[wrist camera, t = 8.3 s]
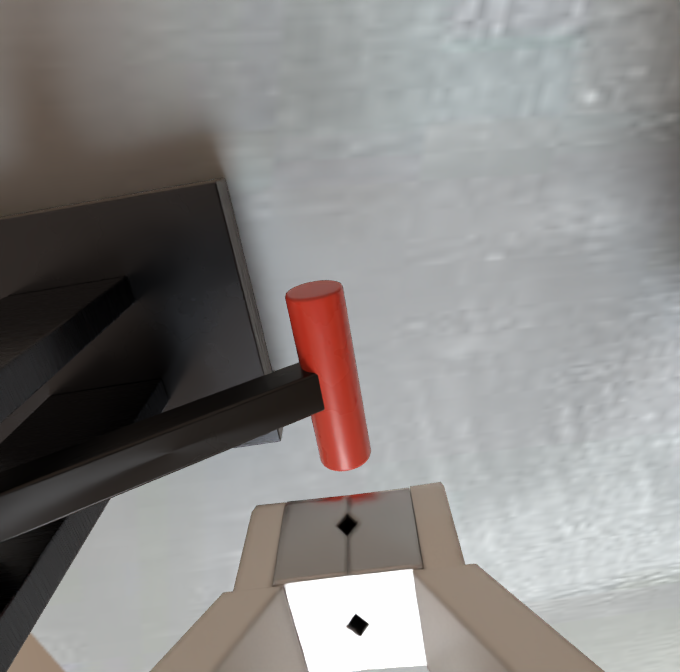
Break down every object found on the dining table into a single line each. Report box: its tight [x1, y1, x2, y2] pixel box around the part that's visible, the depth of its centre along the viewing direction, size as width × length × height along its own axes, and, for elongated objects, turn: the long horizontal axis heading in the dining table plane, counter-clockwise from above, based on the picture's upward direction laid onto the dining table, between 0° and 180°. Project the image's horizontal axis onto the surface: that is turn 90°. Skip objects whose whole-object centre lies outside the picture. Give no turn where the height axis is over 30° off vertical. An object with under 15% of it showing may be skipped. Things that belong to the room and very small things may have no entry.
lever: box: [0, 280, 371, 544], centre depth 11 cm, size 12×5×2 cm, turn 99°
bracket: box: [0, 178, 283, 672], centre depth 14 cm, size 12×10×13 cm
